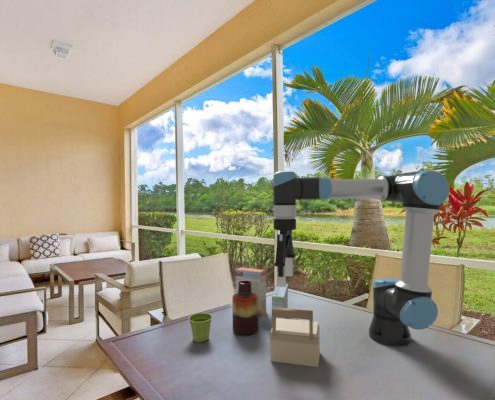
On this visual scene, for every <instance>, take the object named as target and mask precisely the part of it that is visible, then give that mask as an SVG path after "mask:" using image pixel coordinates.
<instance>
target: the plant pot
mask: <svg viewBox="0 0 495 400" xmlns="http://www.w3.org/2000/svg"><path fill="white" fill-rule="evenodd" d="M213 317H214V316H213V315H212V314H210V313H208V312H199V313H193V314H192V315H190V316H188V321H189V324H190V327H191V332H192V333H191V334H192V339H193V341H195V342H196V343H202V342H206V341H208V340H209V337H210V331H211V322H212V319H213Z"/></svg>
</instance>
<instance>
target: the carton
mask: <svg viewBox="0 0 495 400" xmlns="http://www.w3.org/2000/svg"><path fill="white" fill-rule="evenodd" d="M320 330H321V329H320V324H318V329H317V337H313V341H310V336H301V335H291V334H281V333H277V335H276V337H273V335H272V332H271V330H270V331H269V346H270V347H269V350H270V351H269V353H270V355H269V356H270V359H269V360H270V362H275V363H281V364H282V363H283V364H289V365H290V364H291V365H298V366H304V367H313V368H319V363H320V353H321V348H320V343H321V341H320Z"/></svg>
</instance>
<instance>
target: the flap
mask: <svg viewBox="0 0 495 400" xmlns="http://www.w3.org/2000/svg"><path fill="white" fill-rule="evenodd" d="M276 317H285V318H287V319H283V318H276ZM318 325H319V321H315V320H314V311H313V310H308V309H295V308H288V309H286V308H274V307H273V308H272V307H271V329H270V331H271V332H272V335H273V337H276V335H277V333H281V334H291V335H301V336H310V341H313V337H317V329H318Z"/></svg>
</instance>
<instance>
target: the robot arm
mask: <svg viewBox="0 0 495 400" xmlns="http://www.w3.org/2000/svg"><path fill="white" fill-rule="evenodd" d="M272 181H273V182H272V197H273V207H272V208H271V211H273V217H274V219H273V229H274V230H275V231H279V234H276V251H275V260H274V262H275V263H274V262H273V265H274V267H276V286H277V287H286V284H287V277H293V276H294V268H293V267H294V266H293V264H294V262H293V259H294V258H295V257H296V254H295V253H294V245H293V244H294V243H293V234H292V233H293V231H294V230H296V229H297V218H296V217H297V201H303V200H305V201H307V200H308V201H314V200H315V201H316V200H317V201H318V200H319V201H322V200H347V199H349V200H351V199H353V200H356V199H360V200H361V199H364V200H365V199H377V200H378V201H380V202H381V201H382V202H394V203H395V202H396V203H401V208H402V209H403V211H404V212H405V215H406V216H405V222H404V223H405V224H404V233H403V245H402V254H401V257H402V258H401V264H400V265H401V266H400V273H399V274H400V275H399V278H395V277H394V278H393V277H392V278H391V277H390V278H389V277H383V278H381V277H380V278H376V279H374V280H373V283H372V284H373V287H372V292H373V294H372V295H373V296H372V297H373V298H372V299H373V302H372V303H373V304H372V305H373V307H372V309H373V316H372V320H371V322H370V324H369V325H370V326H369V328H368V335H369V338H371V340H373V341H375V342H377V343H379V344H382V345H387V346H394V347H402V346H403V347H404V346H407V345H409V344H410V343H412V334H411V331H410V329H409V328H411V329H414V330H419V331H421V330H425V329H428V328H430V326H431V325H433V324H434V323H435V322H436V321H437V318H438V316H439V315H438V314H439V310H438V309H439V308H438V306H437V304H436V303H435V301H434V300H433V299H432V295H433V294H432V293H433V289H432V288H431V287H430V286H429V284H428V281H429V271H430V262H431V261H430V260H431V252H432V251H431V250H432V241H433V239H432V238H433V228H434V221H435V220H434V218H435V217H434V216H435V215H436V214H437V213H439V212H440V210H441V204H443V203H444V202H445V201H446V200H447V199H448V198H449V195H450V185H449V182H448V179H446V177H445V176H444V175H443V174H442V173H440V172H439V171H436V170H429V169H428V170H426V169H425V170H419V171H410V172H409V171H408V172H402V173H398V174H394V175H393V174H392V175H385V176H384V175H382V176H379V177H378V178H337V179H336V178H335V179H334V178H333V179H330V178H328V177H321V176H320V177H297V175H296V172H294V171H289V170H288V171H284V170H283V171H276V172H274V173H273V179H272Z"/></svg>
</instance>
